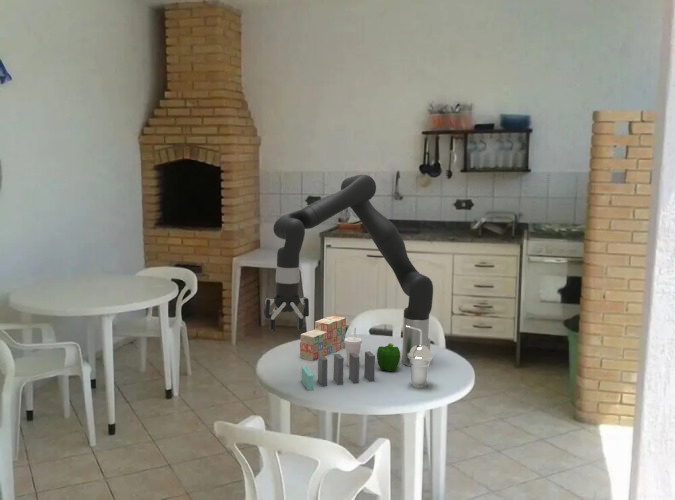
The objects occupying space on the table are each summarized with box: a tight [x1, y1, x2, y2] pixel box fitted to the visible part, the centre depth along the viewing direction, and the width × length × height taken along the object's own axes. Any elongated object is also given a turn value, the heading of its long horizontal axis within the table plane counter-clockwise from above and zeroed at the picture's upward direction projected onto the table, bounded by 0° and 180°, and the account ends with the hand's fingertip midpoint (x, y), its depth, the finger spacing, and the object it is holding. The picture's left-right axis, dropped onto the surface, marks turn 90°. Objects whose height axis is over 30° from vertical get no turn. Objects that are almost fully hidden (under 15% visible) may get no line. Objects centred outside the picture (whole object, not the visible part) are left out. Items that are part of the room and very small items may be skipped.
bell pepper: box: [376, 342, 401, 372], centre depth 227 cm, size 8×8×10 cm
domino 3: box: [332, 353, 345, 386], centre depth 213 cm, size 2×5×9 cm, turn 17°
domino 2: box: [317, 355, 328, 387], centre depth 212 cm, size 2×5×9 cm, turn 17°
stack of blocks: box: [299, 315, 347, 362], centre depth 244 cm, size 21×6×12 cm, turn 146°
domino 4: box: [348, 353, 360, 384], centre depth 215 cm, size 2×5×9 cm, turn 17°
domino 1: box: [301, 366, 315, 391], centre depth 210 cm, size 2×5×9 cm
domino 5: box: [363, 351, 376, 383], centre depth 217 cm, size 2×5×9 cm, turn 17°
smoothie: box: [344, 327, 363, 367], centre depth 230 cm, size 6×6×14 cm
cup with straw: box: [406, 325, 434, 389], centre depth 211 cm, size 8×9×20 cm
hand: (286, 329), depth 206 cm, fingers open, 8 cm apart
